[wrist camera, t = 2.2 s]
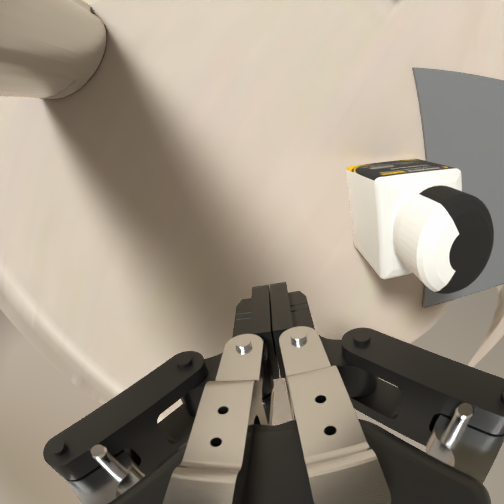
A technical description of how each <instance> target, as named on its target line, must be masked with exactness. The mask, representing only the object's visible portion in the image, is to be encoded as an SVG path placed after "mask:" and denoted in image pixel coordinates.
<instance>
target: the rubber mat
mask: <svg viewBox="0 0 504 504" xmlns="http://www.w3.org/2000/svg"><path fill="white" fill-rule="evenodd" d="M412 69H413V73H414V78H415V83H416V88H417V94H418V100H419V106H420V113H421V120H422V128H423V136H424V146H425V157H426V161H428V162H432V163H437V164H441V165H445V166H449V167H453V168H457V169H459V170H460V171H461V177H462V192H465V193H468V194H470V195H473V196H475V197H477V198H478V199H480V200H481V201H482V202H483V203H484V204H485V205H486V207H487V209H488V210H489V213H490V215H491V218H492V222H493V229H494V242H493V248H492V252H491V255H490V258H489V260H488V262H487V264H486V266H485V268H484V270H483V271H482V273H481V274H480V275H479V276H478V278H477V279H476V280H475V281H474V282H473V283H471V284H470V285H469V286H467V287H466V288H464V289H462V290H460V291H457V292H454V293H449V294H441V293H436V292H434V291H432V290H430V289H429V288H428V287H427V286H426V285H425V286H424V296H423V305H422V307H423V308H425V307H428V306H432V305H436V304H439V303H443V302H446V301H450V300H453V299H457V298H460V297H463V296H466V295H470V294H472V293H476V292H479V291H482V290H485V289H488V288H491V287H494V286H497V285H500V284H503V283H504V81H503V80H498V79H494V78H489V77H484V76H478V75H473V74H467V73H460V72H453V71H445V70H436V69H426V68H412Z"/></svg>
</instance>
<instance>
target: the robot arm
mask: <svg viewBox="0 0 504 504" xmlns="http://www.w3.org/2000/svg"><path fill="white" fill-rule="evenodd" d="M106 39H107V37H106V29H105V27H104V24H103V22H102V21H101V20H100V18H99V17H97V16H96V15H94V14H93V13H91V10H90V5H88V4H87V3H85V2H84V1H82V0H0V96H14V97H34V98H42V99H48V98H49V99H58V98H64V97H66V96H69V95H71V94H73V93H74V92H76V91H77V90H79V89H80V88H81V87H82V86H83V85H84V84H86V82H87V81H88V80H89V79H90V78H91V77H92V75H93V74H94V72H95V71H96V69H97V68H98V66H99V64H100V62H101V60H102V57H103V54H104V51H105V47H106ZM278 363H279V366H278ZM279 369H280V375H281V378H284V377H285V380H286V386H287V393H288V398H289V403H290V408H291V413H292V418H293V420H292V421H289V422H286V423H283V424H280V425H276V426H272V414H273V399H274V393H273V386H274V383H273V379H277V378H279ZM378 377H379V378H381V379H384V380H385V381H388V382H390V383H392V384H394V385H396V386H398V388H397V387H395V386H393V385H391V384H389V383H387V382H384V381H382V380H380V379H378ZM180 398H181V400H182V402H183V404H182V405H181V406H180V407H178V408H177V409H176V410H175V411H173V412H172V413H171V414H169V415H168V416H167V417H166V418H164V419H163V420H162V421H160V422H159V423H158V424H157V419H158V417H159V415H160V414H161V413H162V412H164V411H165V410H166V409H167V408H169V407H170V406H171V405H173V404H174V403H175V402H177V401H178V400H179V399H180ZM354 408H355V409H356V410H358V411H360V412H362V413H363V414H365V415H367V416H369V417H371V418H372V419H374V420H376V421H378V422H380V423H382V424H384V425H385V426H387V427H389V428H391V429H393V430H395V431H397V432H399V433H401V434H403V435H405V436H406V437H409V438H410V439H412V440H414V441H416V442H418V443H421V444H422V445H425V446H426V452H427V453H425V452H423V451H421V450H420V449H418V448H416V447H414V446H412V445H410V444H409V443H407V442H405V441H403V440H401V439H400V438H398V437H396V436H395V435H393V434H391V433H389V432H388V431H386V430H384V429H383V428H381V427H379V426H377V425H375V424H373V423H370V422H368V421H365V420H360V419H358V418H357V415H356V413H355V410H354ZM503 442H504V379H503V378H500V377H498V376H495V375H492V374H489V373H486V372H483V371H481V370H478V369H475V368H472V367H470V366H467V365H464V364H462V363H459V362H456V361H453V360H451V359H448V358H445V357H442V356H440V355H437V354H435V353H432V352H429V351H427V350H424V349H422V348H419V347H416V346H414V345H411V344H409V343H406V342H403V341H401V340H398V339H396V338H393V337H391V336H388V335H385V334H383V333H380V332H378V331H375V330H373V329H369V328H357V329H353V330H350V331H348V332H347V333H346V334H345V335H344V336H343V337H342V340H331V339H326V338H323V337H321V336H320V335H318V333H317V331H316V330H315V329H314V325H313V321H312V317H311V314H310V310H309V306H308V303H307V299H306V296H305V295H304V294H302V293H301V292H300V291H297V292H290V293H288V291H287V285H286V282H284V283H277V284H271V285H270V289H269V285H265V286H258V287H252V298H251V299H244V300H242V301H241V302H240V303H239V304H238V305H237V308H236V315H235V323H234V331H233V338H232V339H230V340H229V341H228V342H227V343H226V345H225V347H224V351H223V353H221V354H219V355H217V356H214V357H211V358H208V359H204V358H203V356H202V355H201V354H200V353H198V352H194V351H187V352H182V353H179V354H177V355H175V356H174V357H172V358H171V359H169V360H168V361H166V362H165V363H164V364H162V365H161V366H159V367H158V368H156V369H155V370H154V371H152V372H151V373H149V374H148V375H146V376H145V377H144V378H142V379H141V380H139V381H138V382H136V383H135V384H133V385H132V386H130V387H129V388H128V389H126V390H125V391H123V392H122V393H120V394H119V395H117V396H116V397H114V398H113V399H111V400H110V401H108V402H107V403H105V404H104V405H102V406H101V407H99V408H98V409H96V410H95V411H93V412H92V413H90V414H89V415H87V416H86V417H85V418H83V419H81V420H79V421H78V422H76V423H75V424H73V425H72V426H70V427H69V428H67V429H65V430H64V431H62V432H61V433H59V434H58V435H56V436H54V437H53V438H51V439H50V440H49V441H48V442H47V444H46V445H45V448H44V452H43V454H44V459H45V461H46V462H47V463H48V464H49V465H50V466H51V467H52V468H53V469H54V470H55V471H56V472H58V473H59V474H60V476H61V477H62V478H63V479H64V480H66V482H68V483H69V484H70V485H71V487H72V488H73V490H74V492H75V494H76V495H77V497H78V498H79V500H80V501H81V503H82V504H491V500H490V496H489V493H488V491H487V489H486V488H485V487H484V485H483V482H484V481H485V479H486V477H487V475H488V473H489V471H490V469H491V467H492V465H493V463H494V461H495V459H496V457H497V455H498V452H499V450H500V448H501V446H502V443H503Z"/></svg>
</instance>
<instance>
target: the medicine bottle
mask: <svg viewBox="0 0 504 504" xmlns="http://www.w3.org/2000/svg"><path fill="white" fill-rule="evenodd" d="M346 178H347V185H348V193H349V202H350V210H351V220H352V230H353V242H354V246H355V247H356V248H357V249H358V251H359V252H360V253H361V254H362V255H363V257H364V258H365V259H366V260H367V262H368V263H369V264H370V265H371V267H372V268H373V269H374V270H375V272H376V273H377V274H378V275H379V277H380V278H382V279H384V280H386V279H390V278H394V277H399V276H403V275H407V274H411V273H414V274H415V275H416V276H417V277H418V278H419V279H420V280H421V281H422V282H423V283H424V284H425V285H426V286H427V287H428V288H429V289H430V290H432V291H434V292H436V293H441V294H449V293H454V292H457V291H460V290H462V289H464V288H466V287H467V286H469V285H470V284H471V283H473V282H474V281H475V280H476V279H477V278H478V276H479V275H480V274H481V273H482V271H483V270H484V268H485V266H486V264H487V262H488V260H489V258H490V255H491V252H492V248H493V242H494V229H493V222H492V218H491V215H490V213H489V210H488V209H487V207H486V205H485V204H484V203H483V202H482V201H481V200H480V199H478V198H477V197H475V196H473V195H470V194H468V193H465V192H462V177H461V171H460V170H459V169H457V168H453V167H449V166H445V165H441V164H437V163H432V162H428V161H423V160H419V159H408V160H398V161H389V162H381V163H373V164H365V165H357V166H350V167H347V168H346Z"/></svg>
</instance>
